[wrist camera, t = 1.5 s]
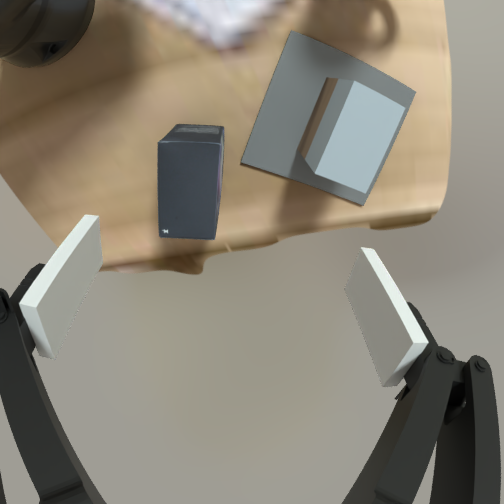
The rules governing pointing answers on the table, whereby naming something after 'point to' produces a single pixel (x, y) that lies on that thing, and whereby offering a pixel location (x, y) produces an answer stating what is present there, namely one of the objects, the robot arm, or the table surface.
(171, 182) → the small box
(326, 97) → the block bottom
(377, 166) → the block top
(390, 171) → the table surface
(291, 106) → the mat
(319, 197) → the table surface
